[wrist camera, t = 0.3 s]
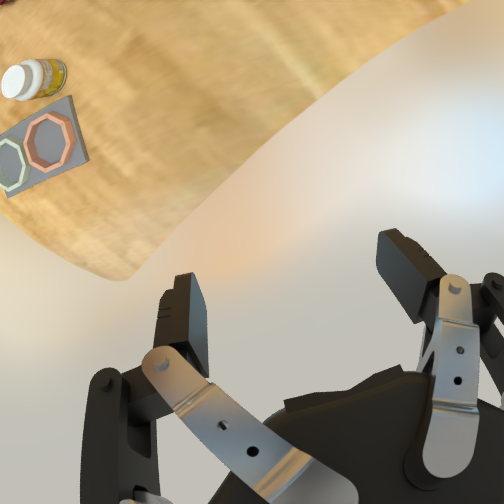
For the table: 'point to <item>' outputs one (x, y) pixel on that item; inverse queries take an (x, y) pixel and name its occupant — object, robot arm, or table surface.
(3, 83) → the supplement bottle
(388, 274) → the robot arm
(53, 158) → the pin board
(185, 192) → the table surface
